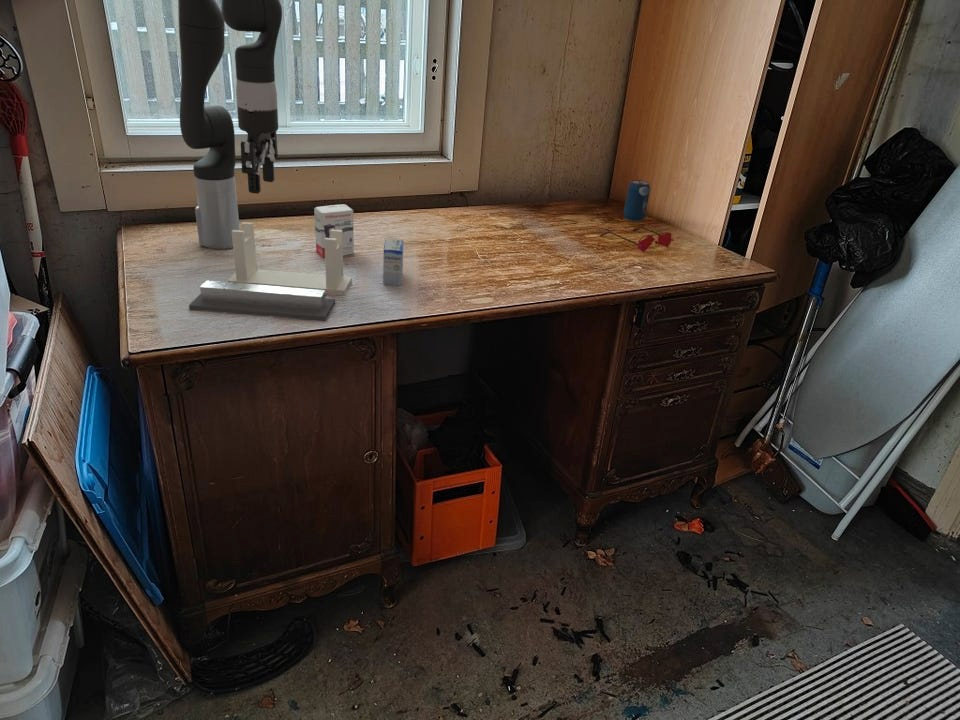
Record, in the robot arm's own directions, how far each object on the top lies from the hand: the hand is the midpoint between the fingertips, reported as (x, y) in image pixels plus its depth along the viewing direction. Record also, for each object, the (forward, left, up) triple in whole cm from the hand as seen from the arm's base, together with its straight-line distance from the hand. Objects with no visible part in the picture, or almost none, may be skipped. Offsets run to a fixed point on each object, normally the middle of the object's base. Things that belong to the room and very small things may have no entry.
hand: (262, 187), depth 142 cm
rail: (+2, -9, -22) cm, 24 cm away
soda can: (+94, +80, -23) cm, 125 cm away
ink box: (+9, +26, -23) cm, 36 cm away
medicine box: (+26, +12, -23) cm, 37 cm away
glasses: (+91, +57, -24) cm, 109 cm away
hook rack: (+4, +4, -23) cm, 23 cm away
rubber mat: (+2, -9, -23) cm, 25 cm away
